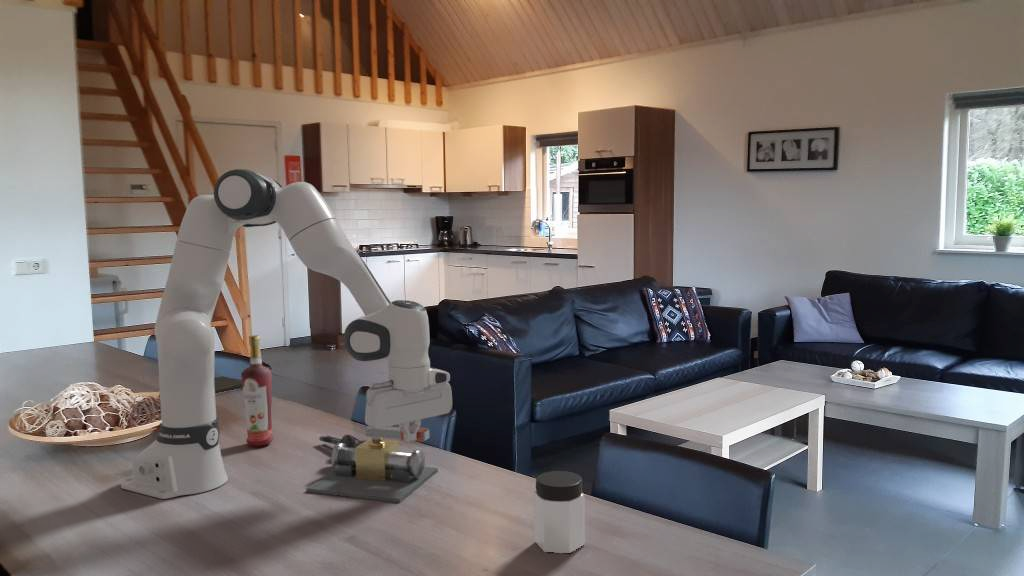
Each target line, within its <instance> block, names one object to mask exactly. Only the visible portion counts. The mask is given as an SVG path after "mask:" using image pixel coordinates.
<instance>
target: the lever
mask: <svg viewBox="0 0 1024 576" xmlns="http://www.w3.org/2000/svg"><path fill="white" fill-rule="evenodd" d="M407 428H408V430H409V431H410V428H411V426H409V427H407ZM365 437H370V438H372V442H380V441H382V439H393V440H401V441H404V433H403V432H402V430H401V429H400V427H399V426H389V427H385V428H380V429H373V428H371V427H369V426H367V427H366V428H365ZM429 438H430V429H428V427H421V426H420V427H419V429H418V431H417V439H416V440H415V441H414V442H417V443H418V442H419V443H420V442H421V443H423V442H425V441H427V440H428V439H429Z"/></svg>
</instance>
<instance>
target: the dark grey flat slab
mask: <svg viewBox="0 0 1024 576" xmlns="http://www.w3.org/2000/svg"><path fill="white" fill-rule="evenodd" d="M214 387H215V393H219V392H224V391H229V390H234V389H239V388H243V386H242V379H239V378H238V379H237V378H234V377H227V376H219V377H214Z"/></svg>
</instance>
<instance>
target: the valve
mask: <svg viewBox="0 0 1024 576" xmlns="http://www.w3.org/2000/svg"><path fill="white" fill-rule="evenodd" d="M367 440H368V439H367ZM367 440H365V439H364V440H360V439H358V438H357V437H355V436H353V435H352V434H345V435H343V436H342V437H341V438H339V437H333V436H331V435H326V436H325V435H320V436H319V441H320V442H324V443H328V444H333V445H334V446H335V445H336V444H337V443H344V444H346V445H347V447H349V448H355V447H357V446H359V445H360V444H362V443H364V442H365V441H367Z"/></svg>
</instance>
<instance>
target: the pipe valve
mask: <svg viewBox="0 0 1024 576" xmlns="http://www.w3.org/2000/svg"><path fill="white" fill-rule="evenodd" d="M364 441H365V440H364ZM399 442H400V441H399V440H398V439H386V438H382V441H380V442H372V437H370V438H369V439H367V441H365V442H364V443H362V444H360V445H359V446H357V447H355V448H349V447H347V445H346V444H344V443H337V444H336V445H335V444H334V446H333V448H332V450H331V453H330V454H331V456H330V463H331V466H332V467H333V468H334V470H335V474H336V476H344V477H353V476H354V475H356V479H364V480H374V481H383V482H386V481H387V480H388V479H390V478H391V477H392V481H393V482H401V483H410V482H412V481H413V480H414V479H415V478H417V477H419V476H420V475H421V474H422V472H423V469H424V467H425V463H426V458H425V454H424V451H423V450H422V449H420V450H419V449H414V450H412V452H401V451H400V443H399Z"/></svg>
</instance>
